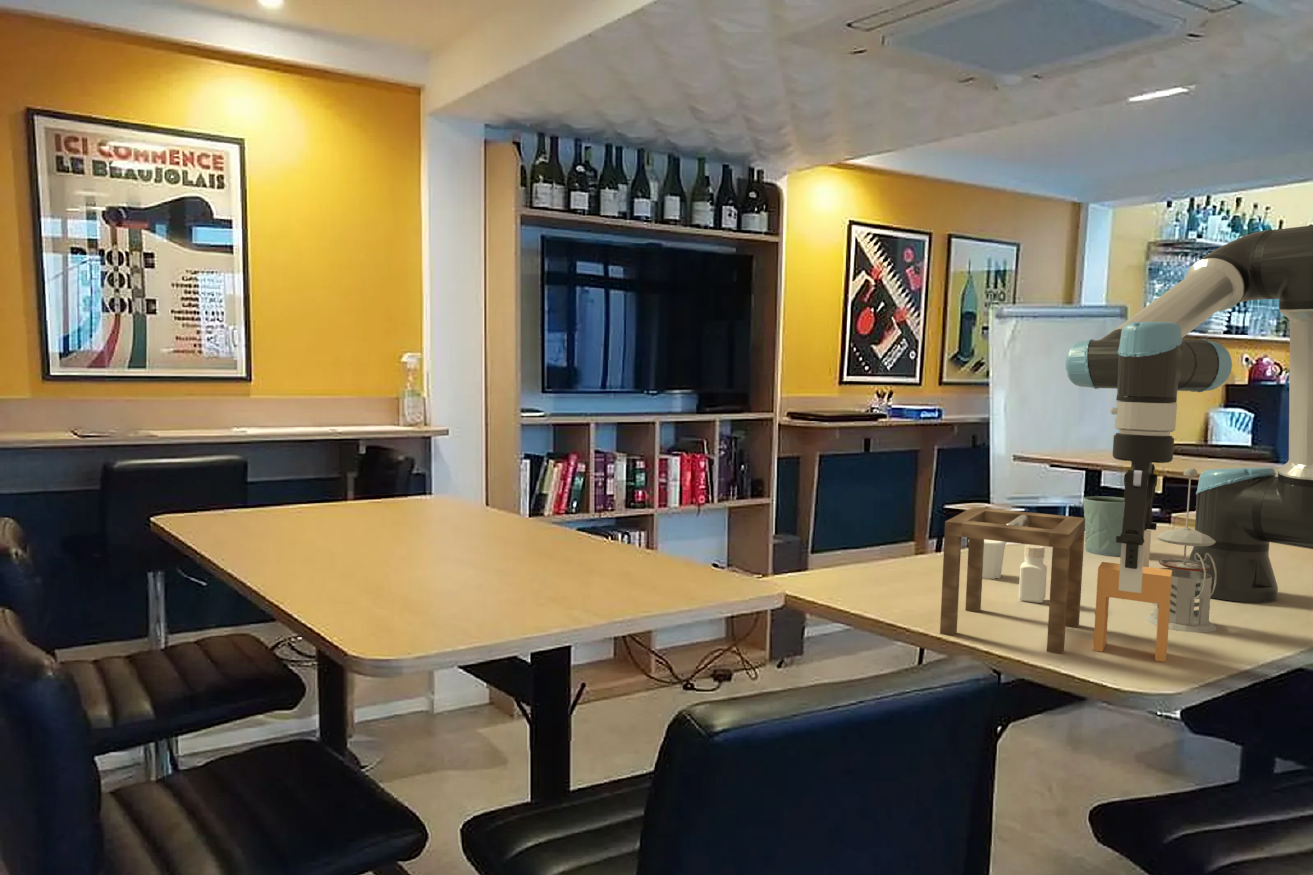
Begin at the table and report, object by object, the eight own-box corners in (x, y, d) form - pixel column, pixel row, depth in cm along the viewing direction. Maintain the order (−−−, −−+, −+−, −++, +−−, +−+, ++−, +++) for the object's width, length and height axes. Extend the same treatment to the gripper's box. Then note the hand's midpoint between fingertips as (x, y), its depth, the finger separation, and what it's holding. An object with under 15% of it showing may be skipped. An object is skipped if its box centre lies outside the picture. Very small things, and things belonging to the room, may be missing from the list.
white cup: (1006, 580, 174) (1008, 544, 173) (969, 578, 175) (970, 542, 174) (1000, 573, 180) (1002, 537, 180) (964, 570, 182) (966, 535, 181)
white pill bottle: (1042, 604, 156) (1045, 549, 156) (1017, 601, 158) (1020, 546, 158) (1045, 599, 160) (1048, 545, 159) (1021, 596, 162) (1023, 543, 161)
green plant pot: (1139, 557, 198) (1143, 502, 197) (1092, 556, 199) (1096, 501, 198) (1117, 548, 209) (1120, 496, 208) (1072, 547, 209) (1075, 495, 208)
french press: (1191, 615, 151) (1201, 465, 149) (1238, 636, 140) (1250, 473, 138) (1133, 614, 151) (1142, 464, 149) (1175, 635, 139) (1186, 472, 138)
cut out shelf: (1079, 624, 144) (1085, 517, 143) (1062, 653, 129) (1068, 534, 128) (968, 607, 153) (973, 507, 152) (939, 633, 138) (945, 521, 137)
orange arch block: (1166, 652, 131) (1172, 570, 130) (1164, 662, 126) (1170, 576, 125) (1097, 641, 135) (1102, 561, 134) (1093, 650, 131) (1098, 567, 130)
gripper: (1122, 427, 141) (1113, 563, 142) (1104, 435, 120) (1094, 595, 121) (1178, 430, 137) (1168, 570, 139) (1170, 439, 116) (1158, 604, 117)
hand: (1133, 582), depth 130 cm, fingers open, 13 cm apart
